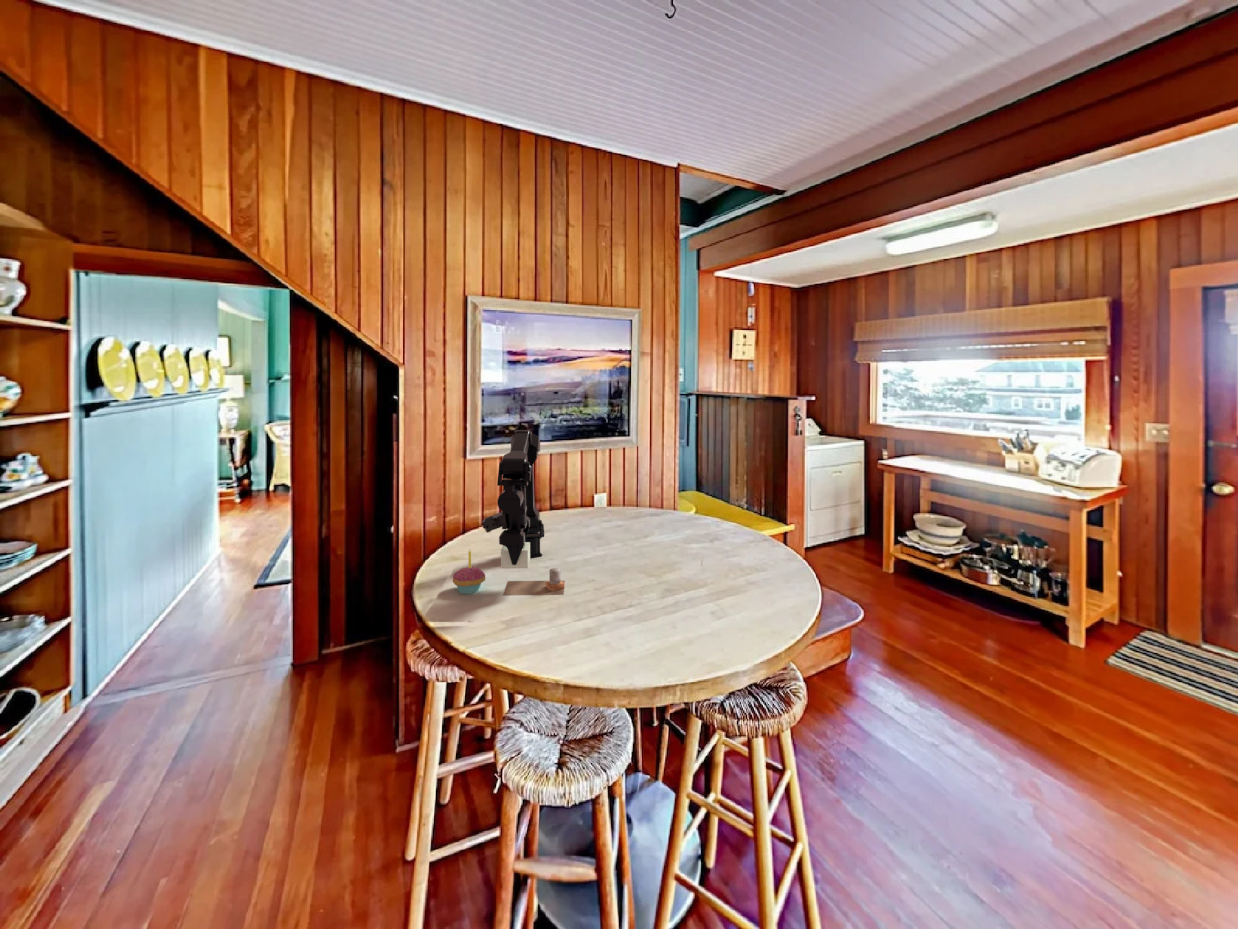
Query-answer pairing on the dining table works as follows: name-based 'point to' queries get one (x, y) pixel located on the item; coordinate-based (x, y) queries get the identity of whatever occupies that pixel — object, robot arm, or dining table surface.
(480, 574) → the cupcake
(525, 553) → the square hollow sleeve
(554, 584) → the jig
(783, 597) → the dining table surface
